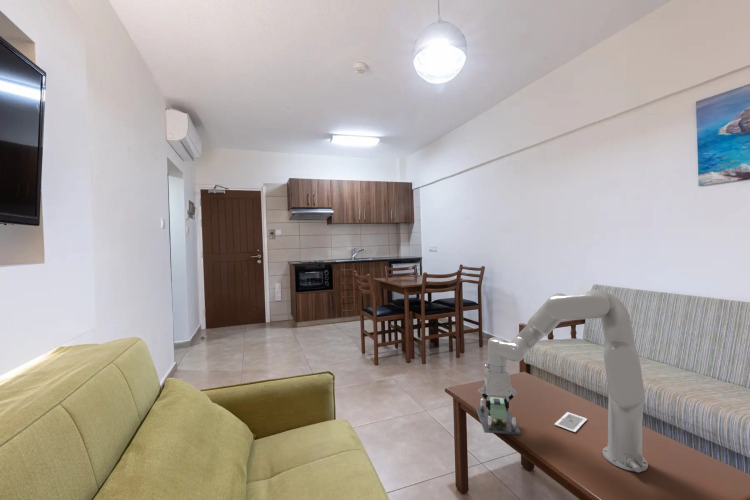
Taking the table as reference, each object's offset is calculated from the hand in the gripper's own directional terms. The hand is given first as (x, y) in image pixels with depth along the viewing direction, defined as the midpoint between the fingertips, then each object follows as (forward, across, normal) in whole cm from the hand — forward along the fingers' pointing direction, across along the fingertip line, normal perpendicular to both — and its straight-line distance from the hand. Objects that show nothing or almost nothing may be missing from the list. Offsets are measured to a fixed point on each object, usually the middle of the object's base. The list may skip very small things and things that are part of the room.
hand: (497, 409), depth 141 cm
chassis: (+5, 0, 0) cm, 5 cm away
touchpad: (+6, +31, +2) cm, 31 cm away
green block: (+1, 0, 0) cm, 1 cm away
